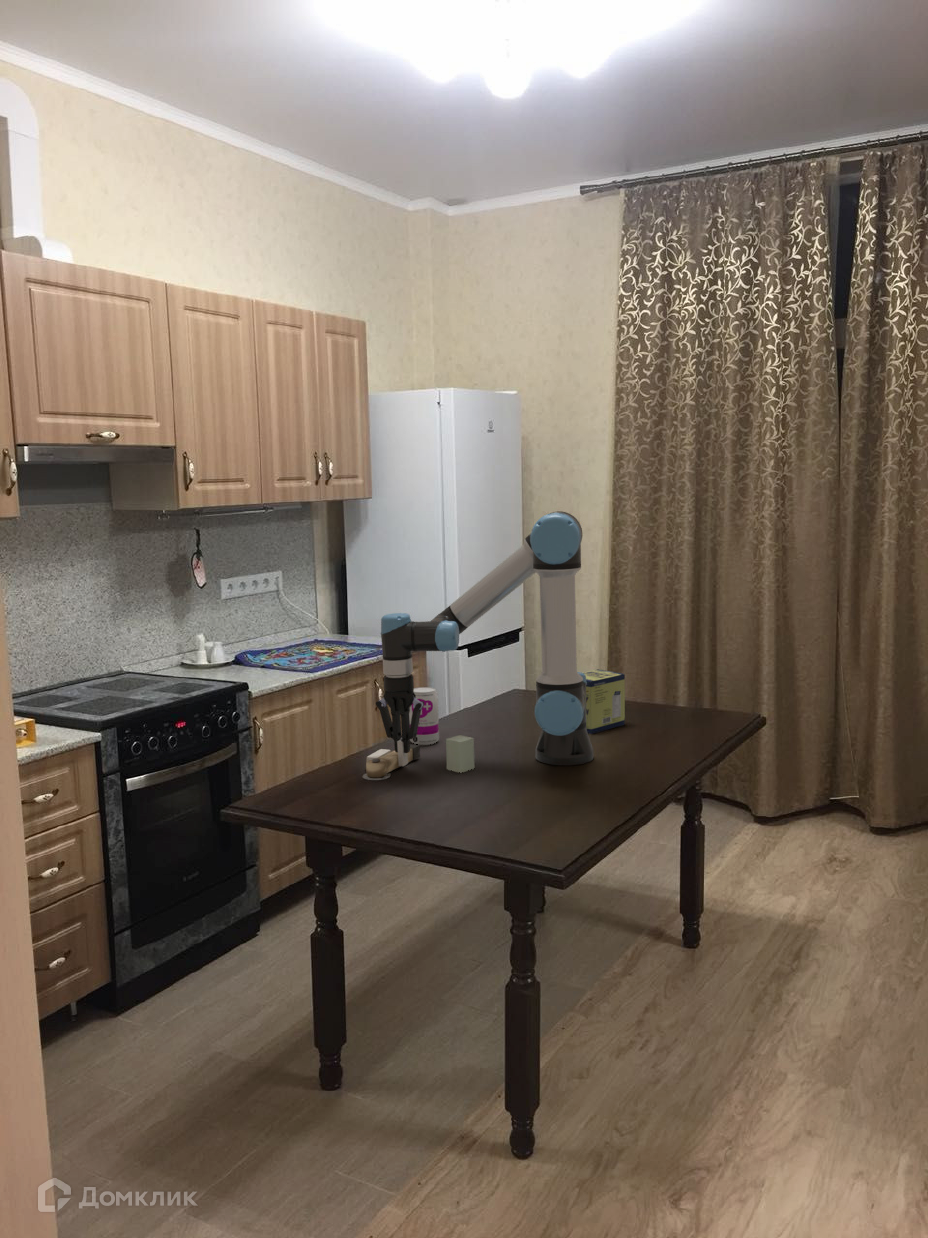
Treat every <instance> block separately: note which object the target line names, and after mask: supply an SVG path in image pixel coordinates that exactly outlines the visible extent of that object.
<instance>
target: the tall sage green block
mask: <svg viewBox="0 0 928 1238" xmlns="http://www.w3.org/2000/svg"><path fill="white" fill-rule="evenodd" d="M445 745H446V746H445V747H446V749H445V750H446V751H445V754H446V770H447V769H448V770H447V771H451V770H452V772H455V773H459V772H460V774H462V772H463V773H465V772H468V770H469V771H472V770H474V768H475V738H474V737H469V736H466V735H461V734H458V735H455V736H452V737H448V738H446V739H445ZM471 769H472V770H471Z"/></svg>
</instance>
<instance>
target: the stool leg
mask: <svg viewBox="0 0 928 1238" xmlns="http://www.w3.org/2000/svg"><path fill="white" fill-rule="evenodd" d="M420 746H421V745H416V744H413V743H412V744H411V743H410V752H408V753H407V755H408V763H410V762H412V761H415V760H417V759H419V758H421V747H420ZM365 762H366V763H365V764H366V765H365V769H366V772H365V773H367V776H369V777H382V776H385V775H386V774H387V773H390V772H392V771H393V770H396V769H398V768H400V767H401V766H399V764H398V752H395V750H391V752H390V753H388V754H386V755H384V756H382V757H380V758H378V759H372V760H369V761H367V760H366V761H365Z"/></svg>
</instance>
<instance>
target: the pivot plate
mask: <svg viewBox="0 0 928 1238" xmlns="http://www.w3.org/2000/svg"><path fill="white" fill-rule="evenodd" d="M391 776H392V775H391V773H390V772H388V773H387V774H386V775H385V776H382V777H369V776H367V772H365V773H364V774H363V775H362V779H364V780H366V781H367V780H368V781H383V780H388V779H389V778H391Z"/></svg>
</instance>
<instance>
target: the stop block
mask: <svg viewBox="0 0 928 1238" xmlns="http://www.w3.org/2000/svg"><path fill="white" fill-rule="evenodd" d="M390 752H392V750H391V749H384V748H380V749H378V750H377V751H375V752H373V753H371V754H369V755H368V756H366V762H367V761H369V760H372V759H378V758H380V757H382V756H384V755H386V754H388V753H390Z"/></svg>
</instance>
